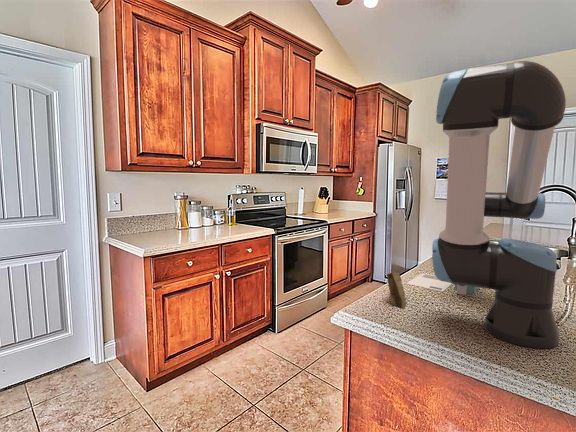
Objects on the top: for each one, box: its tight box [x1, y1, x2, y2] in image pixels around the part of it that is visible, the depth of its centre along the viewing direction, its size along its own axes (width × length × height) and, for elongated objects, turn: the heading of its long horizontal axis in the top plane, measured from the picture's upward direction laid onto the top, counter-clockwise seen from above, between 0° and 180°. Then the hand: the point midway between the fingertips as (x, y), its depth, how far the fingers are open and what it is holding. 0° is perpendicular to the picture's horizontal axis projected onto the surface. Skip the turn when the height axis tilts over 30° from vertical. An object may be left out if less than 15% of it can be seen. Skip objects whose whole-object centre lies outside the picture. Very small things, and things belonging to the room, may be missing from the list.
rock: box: [386, 271, 407, 309], centre depth 103 cm, size 11×9×10 cm
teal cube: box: [454, 284, 479, 295], centre depth 114 cm, size 6×6×6 cm
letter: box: [405, 272, 453, 292], centre depth 123 cm, size 18×13×1 cm
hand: (466, 289), depth 115 cm, fingers open, 13 cm apart
